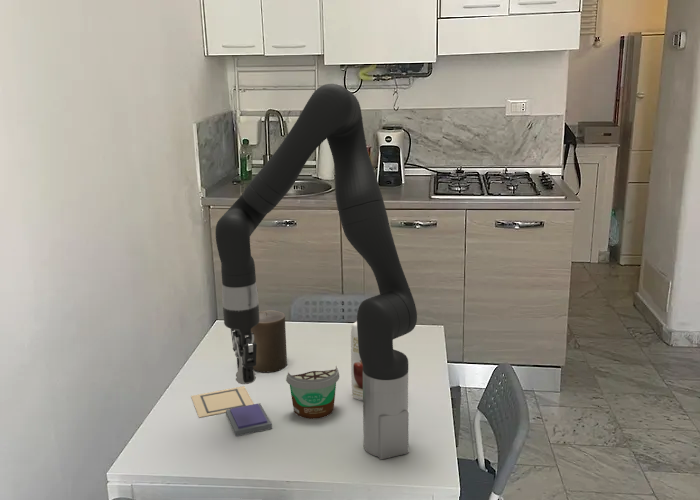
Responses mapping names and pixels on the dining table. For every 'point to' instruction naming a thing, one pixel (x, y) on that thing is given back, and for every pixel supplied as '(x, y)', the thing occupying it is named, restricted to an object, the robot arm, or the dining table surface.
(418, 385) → the dining table surface
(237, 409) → the ink pad
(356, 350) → the juice carton
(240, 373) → the rook chess piece
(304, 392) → the food container
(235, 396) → the marked card
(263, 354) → the pillar candle
